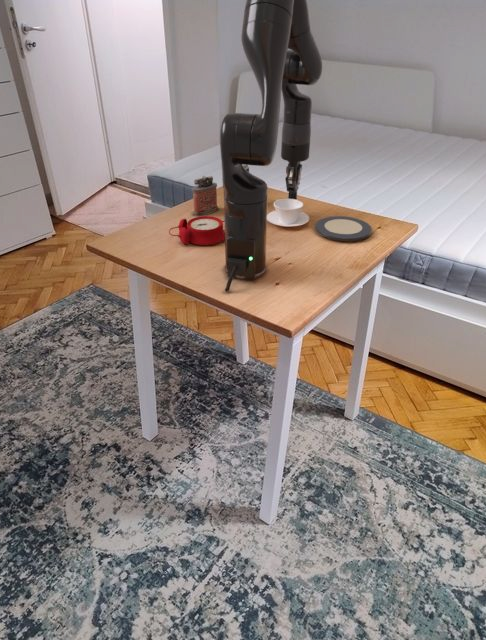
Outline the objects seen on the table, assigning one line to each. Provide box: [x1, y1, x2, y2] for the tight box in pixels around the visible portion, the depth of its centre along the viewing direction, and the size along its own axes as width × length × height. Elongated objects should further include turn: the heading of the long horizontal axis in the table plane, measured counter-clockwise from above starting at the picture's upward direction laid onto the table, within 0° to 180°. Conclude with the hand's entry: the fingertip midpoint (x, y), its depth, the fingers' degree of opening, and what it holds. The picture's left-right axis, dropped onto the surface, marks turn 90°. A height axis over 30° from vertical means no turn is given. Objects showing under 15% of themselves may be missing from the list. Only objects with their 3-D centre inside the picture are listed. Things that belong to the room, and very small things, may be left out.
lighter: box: [191, 175, 219, 217], centre depth 138 cm, size 8×3×10 cm, turn 133°
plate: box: [314, 215, 373, 242], centre depth 130 cm, size 15×15×1 cm
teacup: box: [267, 198, 310, 228], centre depth 133 cm, size 12×12×5 cm
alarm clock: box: [168, 215, 225, 246], centre depth 125 cm, size 10×6×15 cm
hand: (292, 203), depth 137 cm, fingers closed
